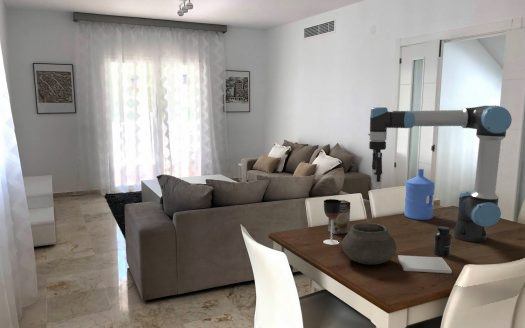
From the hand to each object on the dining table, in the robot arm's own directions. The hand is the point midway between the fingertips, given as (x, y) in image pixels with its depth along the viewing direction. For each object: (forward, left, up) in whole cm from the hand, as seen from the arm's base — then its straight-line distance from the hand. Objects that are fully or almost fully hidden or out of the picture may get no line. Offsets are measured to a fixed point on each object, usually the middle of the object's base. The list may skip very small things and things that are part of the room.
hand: (376, 185), depth 200 cm
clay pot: (+5, +27, -28) cm, 39 cm away
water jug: (-31, -50, -27) cm, 65 cm away
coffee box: (+16, -13, -27) cm, 34 cm away
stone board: (-17, +28, -27) cm, 42 cm away
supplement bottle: (-28, +13, -27) cm, 41 cm away
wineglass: (+20, +4, -27) cm, 34 cm away
